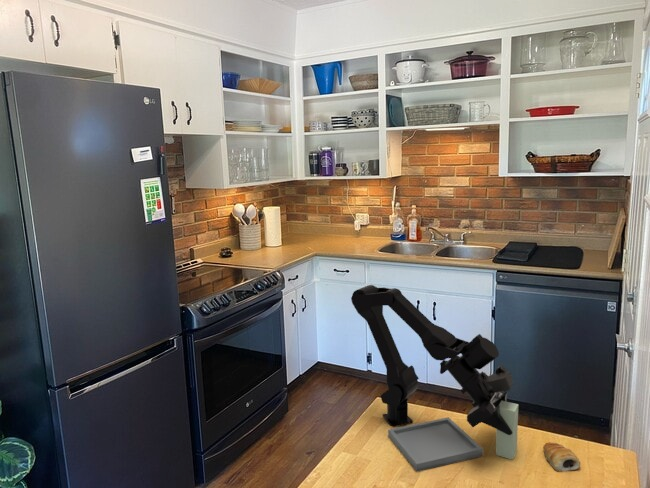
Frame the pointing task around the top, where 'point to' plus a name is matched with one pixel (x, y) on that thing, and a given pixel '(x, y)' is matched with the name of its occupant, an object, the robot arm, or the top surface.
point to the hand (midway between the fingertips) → (513, 429)
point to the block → (508, 443)
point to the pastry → (561, 457)
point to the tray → (434, 444)
